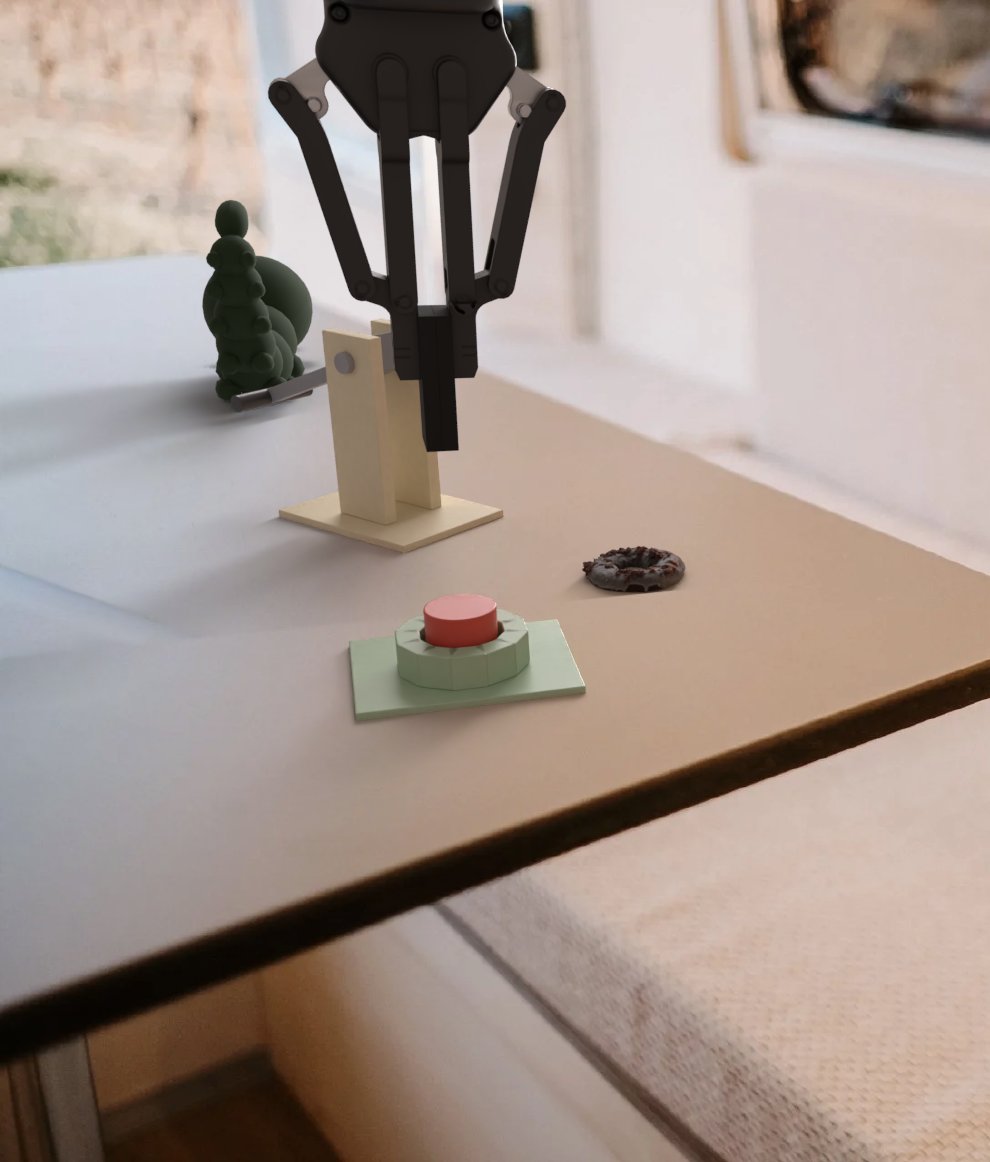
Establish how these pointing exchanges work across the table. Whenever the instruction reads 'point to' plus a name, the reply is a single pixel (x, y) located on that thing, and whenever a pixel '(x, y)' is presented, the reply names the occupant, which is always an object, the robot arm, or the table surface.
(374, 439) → the bracket
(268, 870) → the table surface
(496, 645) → the button block
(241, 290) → the toy figurine
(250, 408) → the lever
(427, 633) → the button
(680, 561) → the donut
